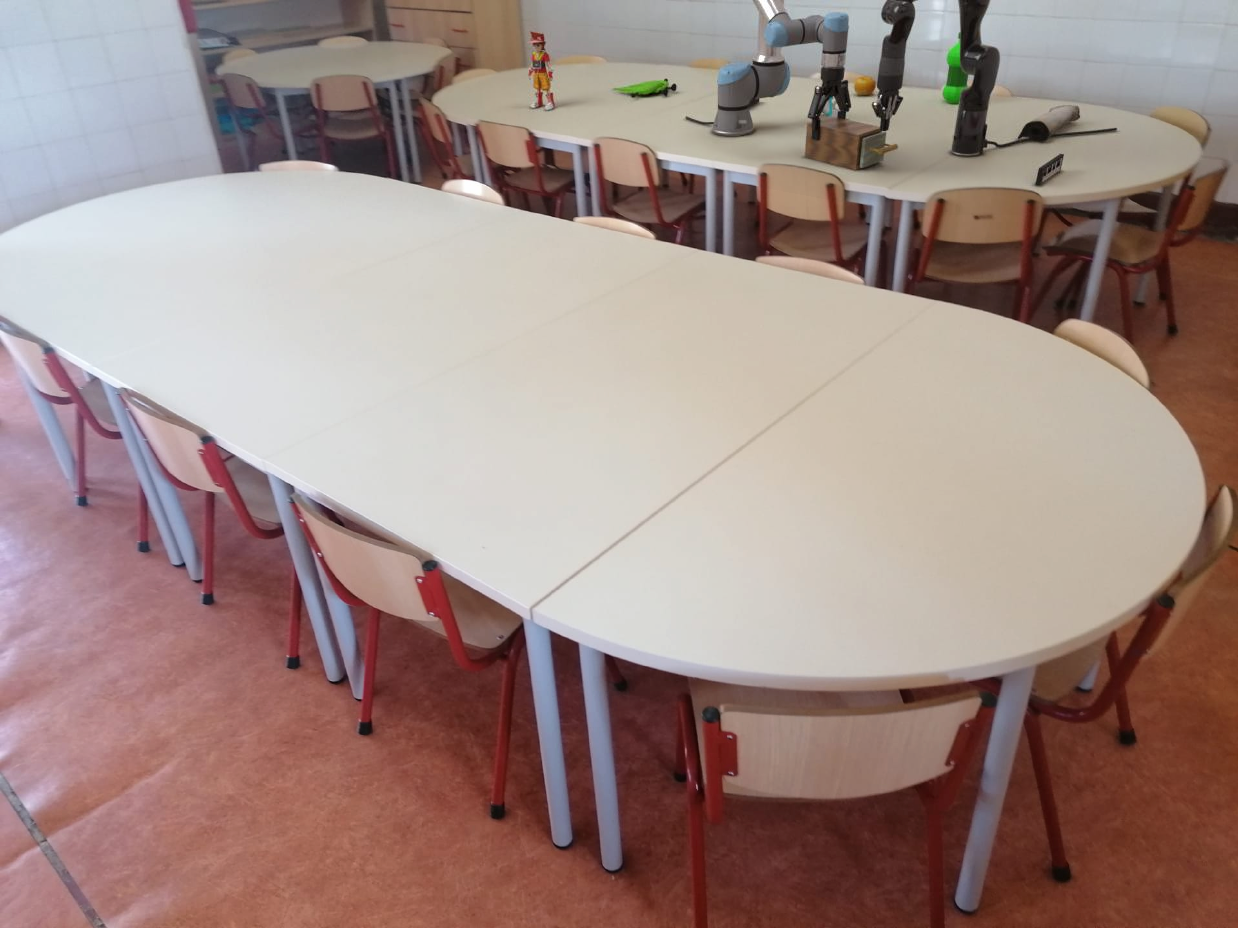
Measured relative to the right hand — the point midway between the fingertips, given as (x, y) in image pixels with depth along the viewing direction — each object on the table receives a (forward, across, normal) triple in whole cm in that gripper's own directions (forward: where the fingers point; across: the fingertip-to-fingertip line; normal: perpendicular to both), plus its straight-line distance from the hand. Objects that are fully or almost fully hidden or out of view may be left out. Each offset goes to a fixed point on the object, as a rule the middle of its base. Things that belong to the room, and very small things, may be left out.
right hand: (884, 130), depth 283 cm
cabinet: (+12, 0, +16) cm, 20 cm away
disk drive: (+12, +30, +94) cm, 100 cm away
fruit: (+12, +76, +68) cm, 103 cm away
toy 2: (+12, +20, +146) cm, 148 cm away
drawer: (+11, 0, +10) cm, 15 cm away
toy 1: (+13, -25, +158) cm, 160 cm away
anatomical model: (+12, +39, +53) cm, 67 cm away
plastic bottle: (+12, +88, +33) cm, 95 cm away
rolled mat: (+12, +73, -16) cm, 76 cm away
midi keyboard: (+12, +27, -43) cm, 52 cm away
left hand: (+6, 0, +23) cm, 23 cm away
